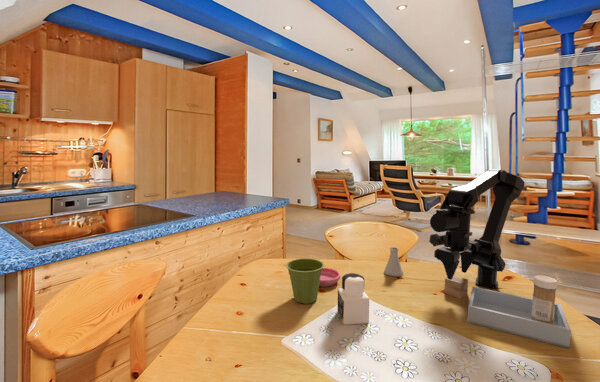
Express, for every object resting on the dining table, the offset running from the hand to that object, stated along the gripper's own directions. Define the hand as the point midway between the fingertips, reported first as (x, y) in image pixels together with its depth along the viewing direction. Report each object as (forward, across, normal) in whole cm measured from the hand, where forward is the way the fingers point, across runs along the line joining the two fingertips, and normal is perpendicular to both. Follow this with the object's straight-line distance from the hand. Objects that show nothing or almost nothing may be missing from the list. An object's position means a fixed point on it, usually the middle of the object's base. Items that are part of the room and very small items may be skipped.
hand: (457, 275), depth 97 cm
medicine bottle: (+6, +38, -10) cm, 39 cm away
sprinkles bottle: (+6, +4, +24) cm, 25 cm away
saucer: (+6, +28, -33) cm, 44 cm away
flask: (+6, +2, -23) cm, 24 cm away
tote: (+6, +4, +18) cm, 19 cm away
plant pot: (+6, +42, -26) cm, 50 cm away
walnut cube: (+6, 0, 0) cm, 6 cm away
